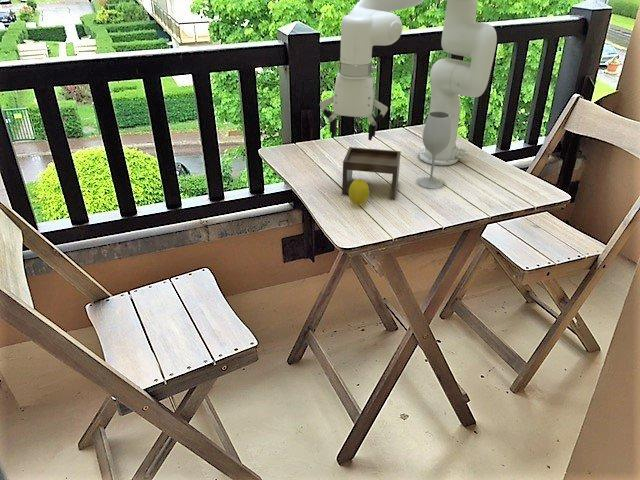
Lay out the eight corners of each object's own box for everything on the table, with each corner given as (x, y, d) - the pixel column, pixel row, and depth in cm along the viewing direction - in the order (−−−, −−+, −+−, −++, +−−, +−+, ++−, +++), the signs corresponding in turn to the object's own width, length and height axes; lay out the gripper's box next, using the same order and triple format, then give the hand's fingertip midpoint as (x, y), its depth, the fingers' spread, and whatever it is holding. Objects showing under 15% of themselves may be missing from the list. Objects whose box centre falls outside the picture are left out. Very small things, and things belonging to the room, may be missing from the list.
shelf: (397, 183, 157) (400, 151, 152) (394, 199, 148) (397, 166, 143) (348, 178, 160) (349, 146, 155) (342, 194, 151) (343, 161, 145)
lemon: (367, 211, 143) (368, 184, 138) (346, 209, 143) (347, 182, 139) (369, 201, 147) (371, 175, 143) (349, 199, 148) (350, 173, 144)
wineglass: (444, 180, 159) (454, 112, 148) (441, 190, 153) (451, 120, 142) (420, 176, 162) (427, 109, 150) (415, 186, 155) (423, 117, 144)
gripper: (392, 68, 130) (387, 135, 139) (324, 63, 133) (323, 129, 142) (388, 75, 123) (383, 145, 132) (317, 70, 127) (316, 138, 136)
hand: (352, 136), depth 137 cm, fingers open, 9 cm apart
